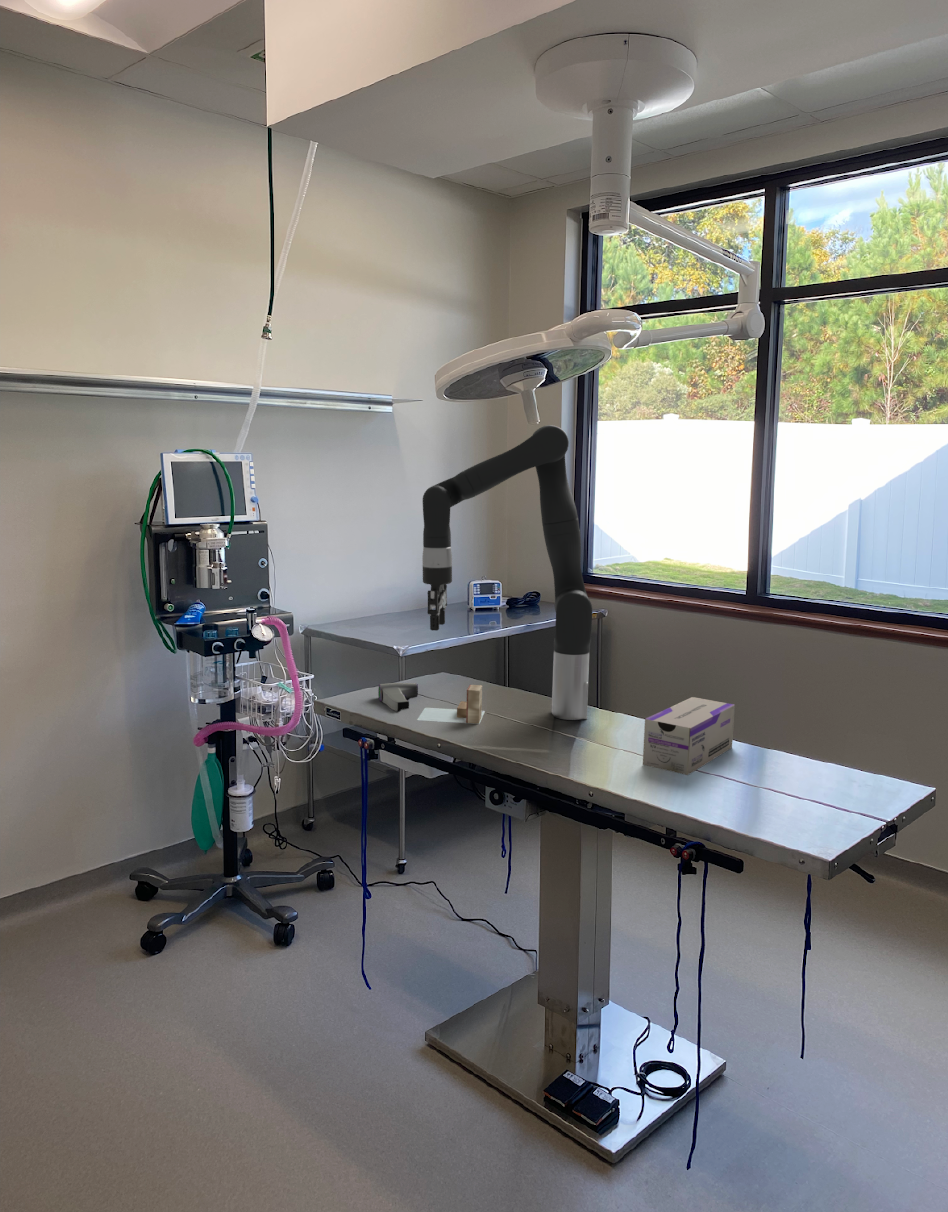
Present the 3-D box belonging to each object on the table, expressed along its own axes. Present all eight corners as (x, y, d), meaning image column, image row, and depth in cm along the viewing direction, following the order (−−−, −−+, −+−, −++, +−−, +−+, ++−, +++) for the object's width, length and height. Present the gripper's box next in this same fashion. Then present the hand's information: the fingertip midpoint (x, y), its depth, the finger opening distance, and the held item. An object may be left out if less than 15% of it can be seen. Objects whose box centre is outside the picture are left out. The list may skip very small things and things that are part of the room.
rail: (469, 710, 244) (469, 701, 244) (466, 717, 237) (466, 708, 237) (460, 710, 244) (460, 701, 244) (456, 717, 238) (457, 708, 237)
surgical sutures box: (689, 739, 226) (692, 696, 224) (731, 748, 220) (734, 704, 218) (642, 765, 206) (645, 718, 204) (687, 776, 200) (690, 728, 198)
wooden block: (481, 717, 238) (482, 685, 237) (478, 723, 232) (479, 690, 231) (469, 716, 238) (469, 684, 237) (466, 722, 233) (466, 690, 232)
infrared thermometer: (393, 716, 244) (374, 698, 257) (436, 711, 249) (415, 694, 262) (393, 699, 243) (375, 682, 256) (436, 695, 248) (416, 679, 261)
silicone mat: (485, 713, 244) (485, 710, 244) (479, 726, 233) (479, 723, 232) (425, 709, 246) (425, 707, 246) (416, 722, 234) (416, 720, 234)
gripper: (447, 568, 229) (447, 632, 232) (456, 561, 243) (456, 622, 246) (417, 567, 230) (417, 632, 233) (428, 561, 244) (428, 622, 247)
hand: (437, 627), depth 239 cm, fingers open, 8 cm apart
